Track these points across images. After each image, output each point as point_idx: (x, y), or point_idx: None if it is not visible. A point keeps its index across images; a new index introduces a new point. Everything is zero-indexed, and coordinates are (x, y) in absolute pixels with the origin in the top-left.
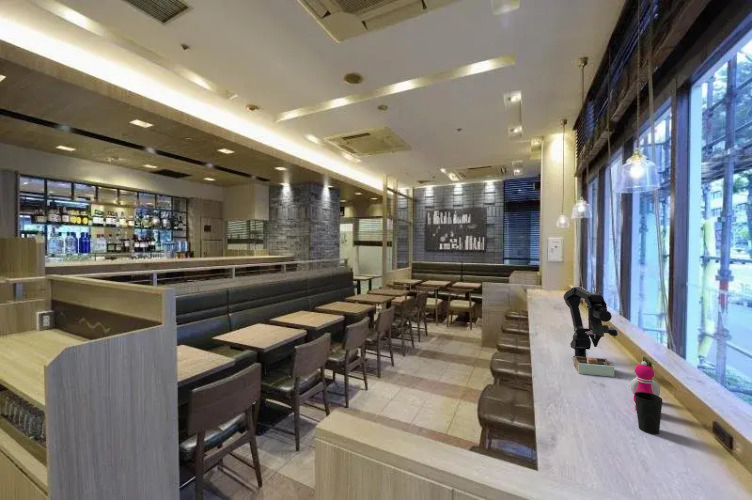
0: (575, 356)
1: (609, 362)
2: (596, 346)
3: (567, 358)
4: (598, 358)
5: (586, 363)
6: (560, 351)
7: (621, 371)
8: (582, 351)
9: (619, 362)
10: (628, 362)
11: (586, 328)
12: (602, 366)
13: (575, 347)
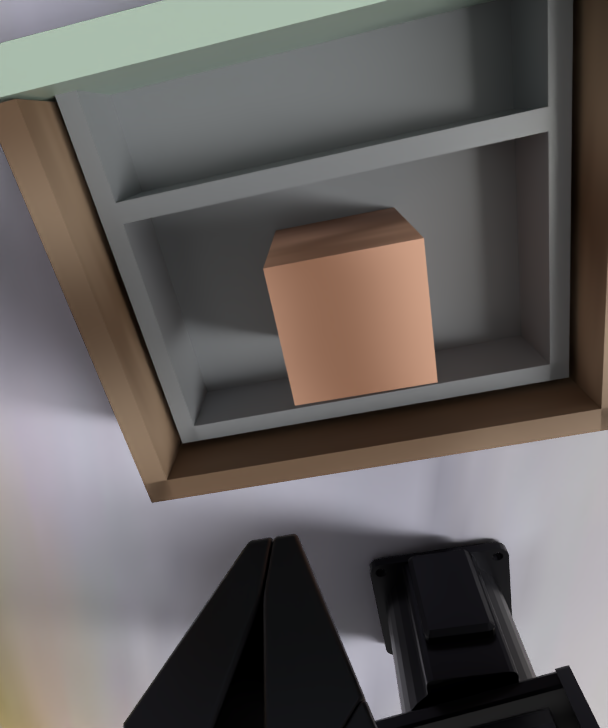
0: (595, 421)
1: (87, 341)
2: (248, 551)
3: (579, 562)
4: (253, 470)
5: None
6: (604, 722)
7: (28, 382)
8: (452, 656)
9: (89, 639)
10: (22, 666)
11: None
12: (171, 5)
13: (572, 693)
